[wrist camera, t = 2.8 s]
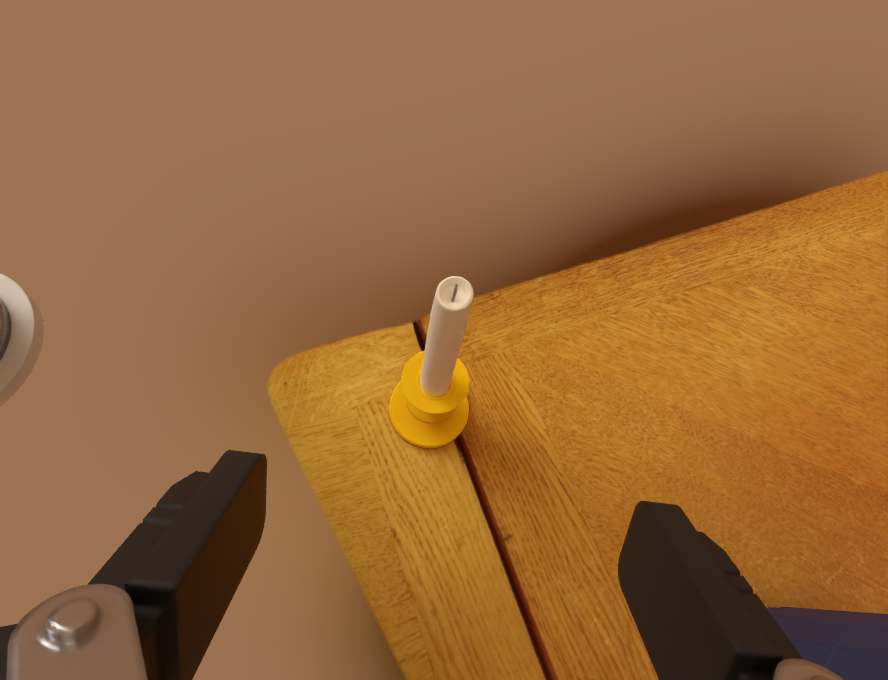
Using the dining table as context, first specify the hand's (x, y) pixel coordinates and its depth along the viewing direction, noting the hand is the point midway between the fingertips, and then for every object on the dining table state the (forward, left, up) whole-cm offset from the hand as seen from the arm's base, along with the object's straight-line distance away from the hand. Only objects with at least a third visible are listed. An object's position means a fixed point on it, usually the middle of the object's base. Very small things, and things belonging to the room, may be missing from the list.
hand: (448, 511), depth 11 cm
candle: (+3, +8, -21) cm, 22 cm away
